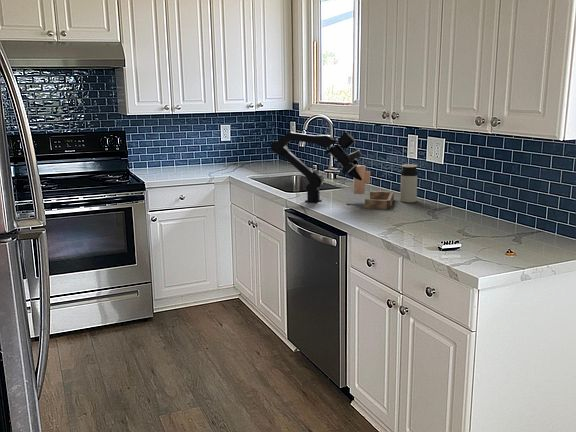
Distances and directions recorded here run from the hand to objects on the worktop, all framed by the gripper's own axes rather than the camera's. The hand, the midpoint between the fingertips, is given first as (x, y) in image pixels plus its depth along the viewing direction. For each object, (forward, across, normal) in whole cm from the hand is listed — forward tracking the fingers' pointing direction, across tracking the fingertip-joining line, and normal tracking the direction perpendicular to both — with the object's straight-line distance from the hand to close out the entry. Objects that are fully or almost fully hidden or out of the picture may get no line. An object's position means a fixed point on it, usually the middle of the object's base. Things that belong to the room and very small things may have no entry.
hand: (362, 178), depth 277 cm
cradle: (+15, 0, +2) cm, 15 cm away
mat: (+7, 0, +10) cm, 12 cm away
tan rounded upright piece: (+5, 0, +5) cm, 7 cm away
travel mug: (+24, +8, -8) cm, 27 cm away
